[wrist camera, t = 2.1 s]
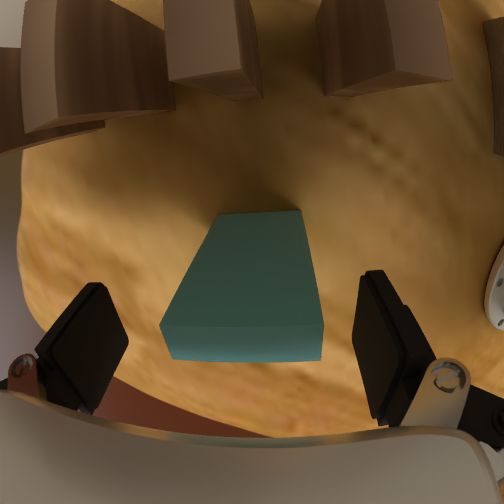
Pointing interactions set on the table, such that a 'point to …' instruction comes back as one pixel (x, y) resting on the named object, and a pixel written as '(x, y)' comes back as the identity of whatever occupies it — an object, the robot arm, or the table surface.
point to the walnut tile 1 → (11, 115)
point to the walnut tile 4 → (381, 45)
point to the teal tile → (248, 294)
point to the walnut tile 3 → (213, 47)
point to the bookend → (497, 76)
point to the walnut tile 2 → (90, 64)
